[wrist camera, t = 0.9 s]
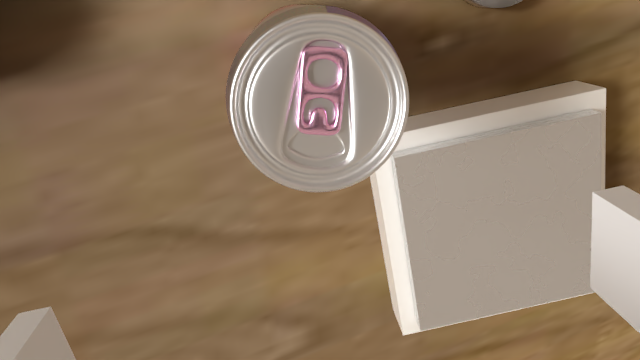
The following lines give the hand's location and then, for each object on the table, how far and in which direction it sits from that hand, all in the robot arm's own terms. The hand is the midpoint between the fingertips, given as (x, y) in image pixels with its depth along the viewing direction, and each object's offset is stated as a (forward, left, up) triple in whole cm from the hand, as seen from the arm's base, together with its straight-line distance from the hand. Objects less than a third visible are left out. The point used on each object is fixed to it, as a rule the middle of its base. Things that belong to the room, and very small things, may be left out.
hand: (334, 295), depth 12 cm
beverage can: (-4, +1, -20) cm, 20 cm away
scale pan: (+8, +11, -16) cm, 21 cm away
